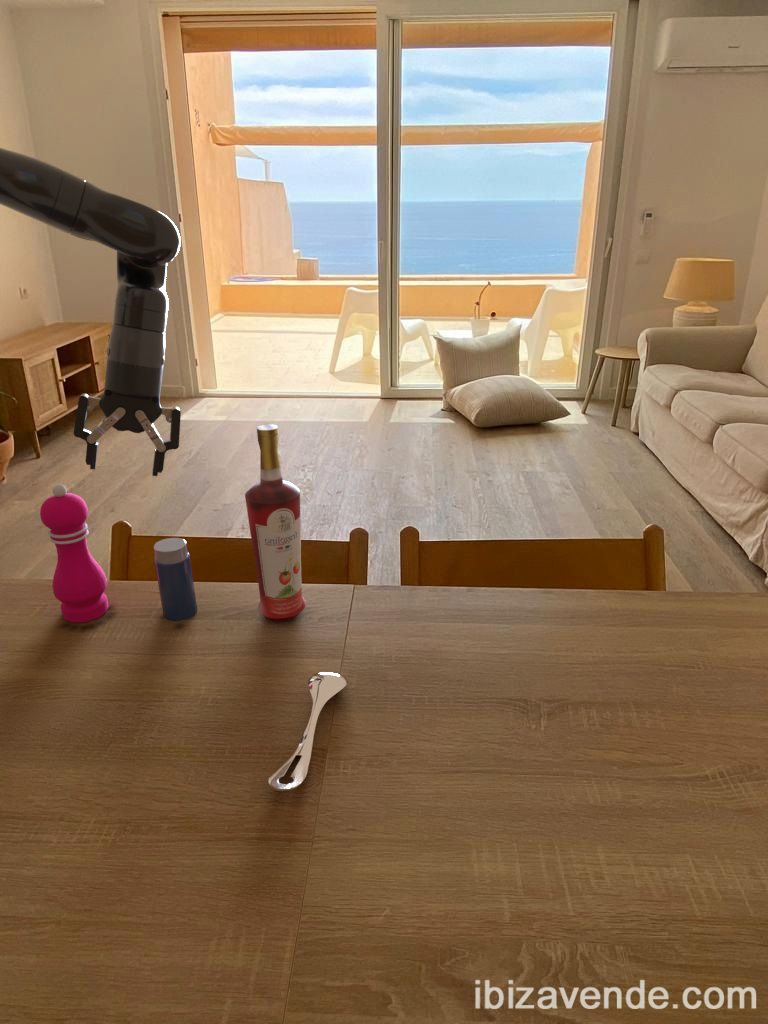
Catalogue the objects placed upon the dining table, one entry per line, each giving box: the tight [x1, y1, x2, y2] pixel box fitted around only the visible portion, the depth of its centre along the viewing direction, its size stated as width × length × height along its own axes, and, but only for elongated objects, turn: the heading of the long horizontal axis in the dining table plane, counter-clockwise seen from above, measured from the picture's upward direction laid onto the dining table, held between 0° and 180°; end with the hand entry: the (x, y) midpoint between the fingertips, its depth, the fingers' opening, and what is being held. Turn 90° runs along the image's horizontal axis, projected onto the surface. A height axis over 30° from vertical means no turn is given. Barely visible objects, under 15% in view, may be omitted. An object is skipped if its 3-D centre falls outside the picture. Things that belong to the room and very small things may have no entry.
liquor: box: [244, 423, 307, 623], centre depth 95 cm, size 7×7×28 cm
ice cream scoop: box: [268, 671, 349, 792], centre depth 77 cm, size 20×4×5 cm
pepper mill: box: [39, 483, 109, 623], centre depth 98 cm, size 7×7×20 cm
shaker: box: [153, 537, 198, 622], centre depth 99 cm, size 5×5×11 cm
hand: (124, 471), depth 102 cm, fingers open, 8 cm apart
